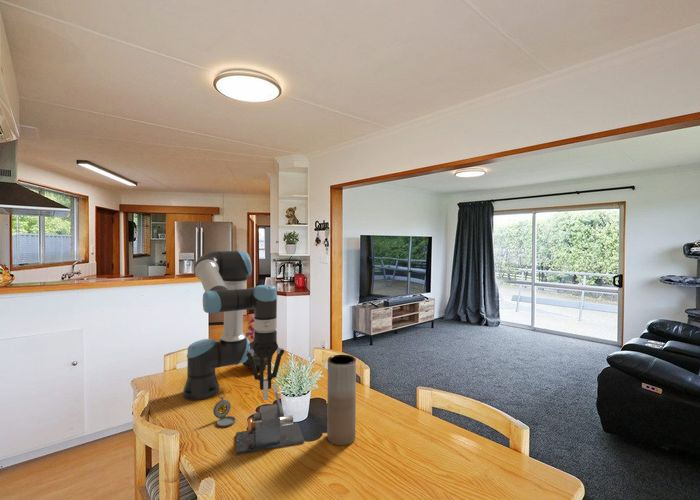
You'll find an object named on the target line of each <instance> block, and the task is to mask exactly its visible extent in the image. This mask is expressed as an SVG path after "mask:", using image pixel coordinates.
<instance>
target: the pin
mask: <svg viewBox="0 0 700 500" xmlns="http://www.w3.org/2000/svg"><path fill="white" fill-rule="evenodd" d="M257 422H261V420H257V421H254V418H252V417H249V418H247V431H248V435H251V434H253V431H255V423H257ZM293 423H294V415H293V414H290V415H284V416H282V417H281V416H280V426H286V425H292V424H293Z"/></svg>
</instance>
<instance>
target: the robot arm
mask: <svg viewBox="0 0 700 500" xmlns="http://www.w3.org/2000/svg"><path fill="white" fill-rule="evenodd" d="M250 257H251V256H250V255H249V253H248V252H246V251H243V250H223V251H222V250H219V251H217V250H216V251H209V252H206V253H204V254H202V255H201V256H199V258H198V259H197V260H196V261H195V263H194V267H193V271H194V275H195V276H196V278H197V279H198V280H200V282H201V285H202V287H203V290H204V292H203V294H202V308H203V311H204V312H205V313H206V314H212V313H213V314H218V313H223V334H221V336H220V337H219V341H216V340H215V339H214V338H206V339H205V338H204V339H199V340H196V341H195V342H192V343H191V344H189V346H188V347H187V351H186V352H187V355H186V358H187V359H186V360H187V365H186V366H187V367H186V368H187V370H186V371H187V375H186V377H187V378H186V381H185V384H184V386H183V390H182V397H183V398H184V399H185V400H189V401H199V400H206V399H209V398H212V397H214V396H216V395H217V394H219V392H220V384H219V380H218V378H217V376H216V369H217V368H222V367H223V368H224V367H228V366H234V365H235V366H237V365H240V364H242V363H244V362H246V360H247V359H248V358H249V359H250V363H251V367H252V370H251V371H252V374H253V377H254V380H256V381H259V390H260V391H262V399H263V401H267V400H269V389H270V390H271V389H272V380H273V379H275V378H277V376H278V372H279V369H280V368H279V367H280V364H281V360H282V357H283V355H284V353H285V349H284V348H283V347H280V346H279V345H278V343H277V342H278V341H277V337H278V336H277V334H278V333H277V317H278V315H277V313H278V312H277V311H278V305H277V303H278V293H277V286H276V285H273V284H259V285H256V286H253V287H250V288H245V283H246V282H247V281H248V277H249V276H251V275H252V272H253V268H252V267H253V266H252V260H251V258H250ZM246 310H254V311H253V312H254V313H253V314H254V317H253V319H254V322H253V324H254V325H253V328H254V330H256V331H255V332H254V340H253V341H254V345H253V349H251V350H250V346H249V345H250V343H251V342H250V340H249V338H248V337H247V338H246V335H245V334H246V333H244V331H243V330H244V327H243V326H244V311H246ZM254 352H255V353H256V354H257V355H258V357H260V370H259V373H258V370H256V366H255V362H254V358H253V356H254ZM275 353H277V354H276V358H275V360H274V361H275V362H274V366H273V370H272V360H273V357H272V356H274V354H275ZM265 357H267V365H266V370H267V371H266V375H267V377H264V376H265V374H264V373H265V372H264V371H265V367H264V358H265Z"/></svg>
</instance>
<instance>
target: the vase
mask: <svg viewBox="0 0 700 500" xmlns="http://www.w3.org/2000/svg"><path fill="white" fill-rule="evenodd" d="M251 316H252V318H251V319H250V320H249V322H248V324H247V325H248V326H247V329H248V330H249V331H250V332H245V333H244V334H245V335H246V338H248V337H249V336H250V337H249V338H250V339H251V340H253V341H251V342H250V345H249V346H250V350H251V349H253V345H254V332H255V331H256V330H254V327H253V326H252V323H254V313H251ZM273 356H274V355H273ZM273 356H272V358H274V357H273ZM253 358H254V362H255V366H256V370H257V371H260V357H258V355H257V354H256V353H255V352H254V356H253ZM241 364H242V365H243V366H244V367H246V368H248V369H250V370H251V371H252V367H251V363H250V359H249V358H248V359H247V360H246V362H244V363H241ZM265 367H267V357H265V358H264V368H265Z"/></svg>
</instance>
